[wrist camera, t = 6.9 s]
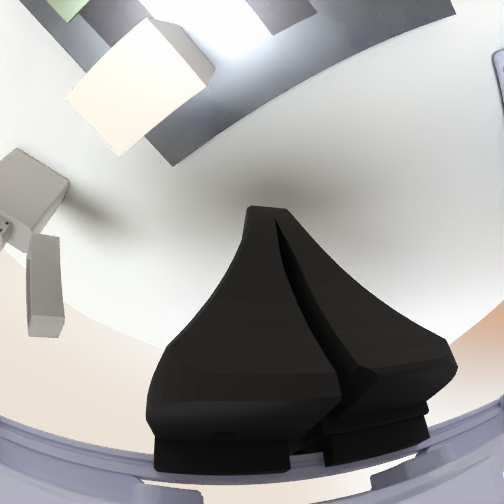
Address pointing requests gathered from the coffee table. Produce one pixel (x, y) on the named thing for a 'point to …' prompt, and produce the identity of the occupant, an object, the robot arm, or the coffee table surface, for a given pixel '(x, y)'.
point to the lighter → (34, 236)
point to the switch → (140, 83)
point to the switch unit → (235, 47)
